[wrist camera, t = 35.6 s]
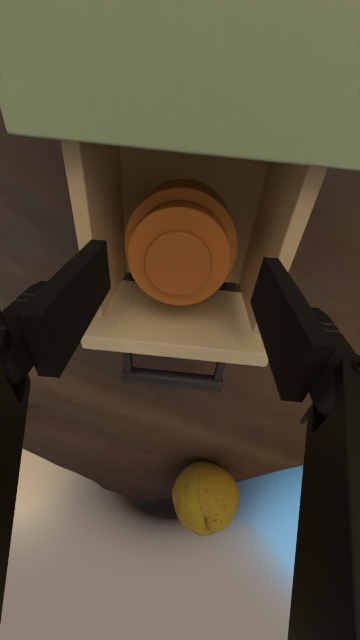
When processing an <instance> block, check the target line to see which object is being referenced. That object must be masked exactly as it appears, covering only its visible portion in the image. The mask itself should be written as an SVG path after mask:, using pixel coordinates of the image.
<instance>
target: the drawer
mask: <svg viewBox="0 0 360 640" xmlns="http://www.w3.org/2000/svg"><path fill="white" fill-rule="evenodd" d="M61 146H62V152H63V158H64V164H65V170H66V176H67V182H68V187H69V193H70V199H71V205H72V211H73V217H74V223H75V229H76V235H77V241H78V247H79V251H80V250H81V249H82V248H83V247H84V246H85V245H86V244H87V243H88V242H89V241H90V240H91V239H95V240H105V241H106V242H107V252H108V262H109V272H110V282H111V289H110V290H109V292H108V294H107V296H106V297H105V299H104V301H103V303H102V304H101V306H100V308H99V310H98V311H97V313H96V315H95V317H94V318H93V320H92V322H91V324H90V325H89V327H88V329H87V331H86V332H85V334H84V336H83V338H82V339H81V343H82V348H86V349H95V350H105V351H115V352H123V354H124V369H123V373H122V382H128V383H138V384H148V385H158V386H168V387H178V388H188V389H198V390H207V391H217V392H221V390H222V383H223V381H222V374H223V370H224V367H225V363H233V364H243V365H253V366H263V367H266V366H267V363H268V361H269V360H268V357H267V354H266V351H265V348H264V345H263V341H262V338H261V335H260V332H259V329H258V326H257V322H256V319H255V316H254V313H253V310H252V307H251V303H250V300H251V297H252V294H253V290H254V287H255V284H256V280H257V277H258V274H259V271H260V267H261V264H262V261H263V257H271V258H279V260H280V261H281V263H282V264H283V266H284V267H285V269H286V270H287V272H288V271H289V269H290V266H291V264H292V261H293V258H294V256H295V253H296V250H297V248H298V245H299V243H300V240H301V237H302V235H303V232H304V229H305V227H306V224H307V222H308V219H309V216H310V214H311V211H312V208H313V206H314V203H315V201H316V198H317V195H318V193H319V190H320V187H321V185H322V182H323V180H324V177H325V174H326V172H327V169H328V168H322V167H313V166H303V165H293V164H284V163H274V162H265V161H255V160H246V159H236V158H226V157H217V156H207V155H198V154H188V153H178V152H169V151H159V150H150V149H140V148H131V147H121V146H111V145H102V144H92V143H83V142H73V141H63V140H61ZM176 179H190V180H195V181H199V182H201V183H203V184H206V185H207V186H209V187H210V188H212V189H213V190H214V191H215V192H217V193H218V194H219V196H220V197H221V198H222V199H223V201H224V202H225V204H226V206H227V208H228V210H229V213H230V215H231V218H232V220H233V222H234V225H235V228H236V232H237V238H238V249H237V256H236V260H235V263H234V265H233V267H232V269H231V271H230V273H229V274H228V276H227V278H226V279H225V281H224V282H230V283H239V286H240V289H241V292H233V291H223V290H217V291H216V292H215V293H214V294H213V295H211V296H210V297H208V298H207V299H205V300H203V301H201V302H198V303H195V304H190V305H171V304H166V303H163V302H160V301H158V300H156V299H154V298H152V297H151V296H149V295H148V294H147V293H145V292H144V291H143V290H142V289H141V288H140V287H139V286H138V284H137V283H136V282H135V281H125V280H123V278H124V276H125V274H126V272H130V269H129V266H128V260H127V257H126V253H125V245H124V238H125V231H126V227H127V224H128V221H129V219H130V217H131V215H132V213H133V212H134V210H135V209H136V208H137V206H138V205H139V204H140V203H141V202H142V201H143V199H144V198H145V197H146V196H147V195H148V194H149V193H150V192H151V191H152V190H153V189H154V188H156V187H157V186H159V185H161V184H163V183H165V182H168V181H171V180H176ZM132 353H135V354H145V355H155V356H164V357H174V358H184V359H194V360H204V361H214V362H217V365H216V368H215V372H214V375H205V374H195V373H185V372H175V371H165V370H156V369H146V368H136V367H133V365H132Z"/></svg>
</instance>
